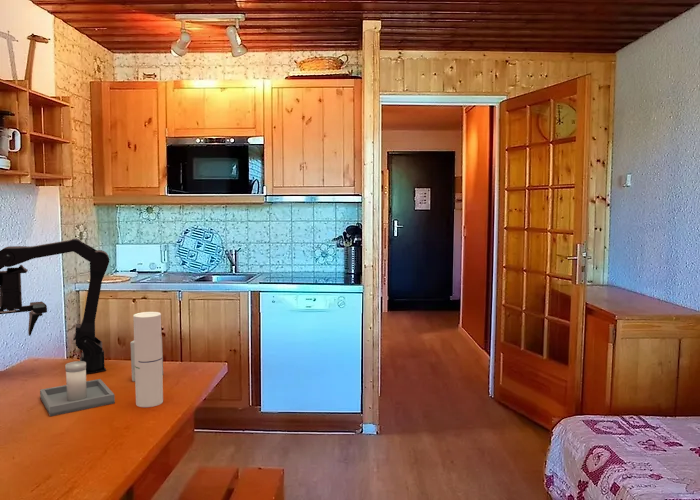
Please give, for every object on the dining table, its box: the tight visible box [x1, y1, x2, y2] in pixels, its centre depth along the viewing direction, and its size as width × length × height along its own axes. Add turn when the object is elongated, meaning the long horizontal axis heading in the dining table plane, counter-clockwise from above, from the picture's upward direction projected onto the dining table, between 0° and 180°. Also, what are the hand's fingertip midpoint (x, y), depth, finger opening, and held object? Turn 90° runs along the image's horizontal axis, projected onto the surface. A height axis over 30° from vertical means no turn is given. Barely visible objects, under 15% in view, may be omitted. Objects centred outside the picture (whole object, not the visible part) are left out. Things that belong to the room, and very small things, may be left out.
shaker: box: [64, 360, 87, 401], centre depth 156 cm, size 5×5×10 cm
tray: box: [39, 378, 116, 417], centre depth 157 cm, size 16×16×2 cm
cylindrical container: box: [132, 311, 164, 408], centre depth 155 cm, size 7×7×25 cm
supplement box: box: [129, 340, 164, 382], centre depth 176 cm, size 7×7×13 cm
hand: (12, 337), depth 173 cm, fingers open, 9 cm apart
